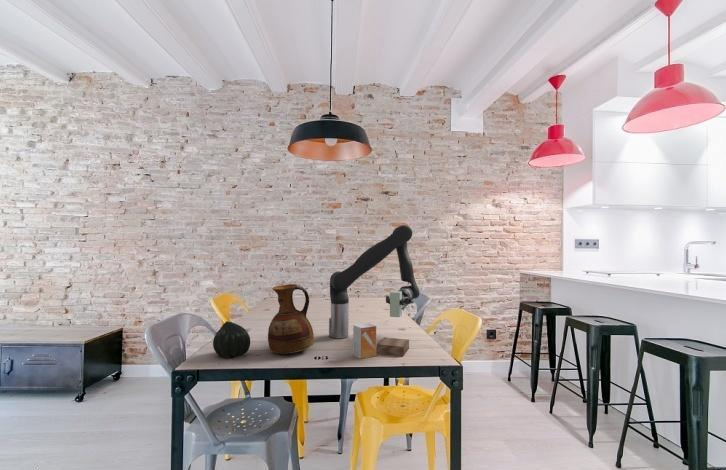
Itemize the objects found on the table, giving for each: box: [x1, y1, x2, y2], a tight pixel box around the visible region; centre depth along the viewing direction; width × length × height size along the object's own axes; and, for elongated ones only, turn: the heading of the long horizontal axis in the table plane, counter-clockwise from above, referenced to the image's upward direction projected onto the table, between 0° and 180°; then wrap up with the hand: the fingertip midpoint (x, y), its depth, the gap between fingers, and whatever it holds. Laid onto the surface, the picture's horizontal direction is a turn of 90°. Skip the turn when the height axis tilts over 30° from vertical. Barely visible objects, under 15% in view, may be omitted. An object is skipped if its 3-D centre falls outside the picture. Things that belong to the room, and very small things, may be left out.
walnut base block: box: [376, 337, 410, 357], centre depth 165 cm, size 12×12×4 cm
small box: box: [352, 323, 377, 360], centre depth 158 cm, size 8×6×13 cm
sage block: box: [389, 290, 403, 318], centre depth 167 cm, size 4×4×11 cm
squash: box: [212, 320, 251, 359], centre depth 158 cm, size 14×15×15 cm
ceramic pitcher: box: [267, 283, 315, 355], centre depth 164 cm, size 20×20×30 cm
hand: (394, 302), depth 165 cm, fingers closed on sage block, 4 cm apart
